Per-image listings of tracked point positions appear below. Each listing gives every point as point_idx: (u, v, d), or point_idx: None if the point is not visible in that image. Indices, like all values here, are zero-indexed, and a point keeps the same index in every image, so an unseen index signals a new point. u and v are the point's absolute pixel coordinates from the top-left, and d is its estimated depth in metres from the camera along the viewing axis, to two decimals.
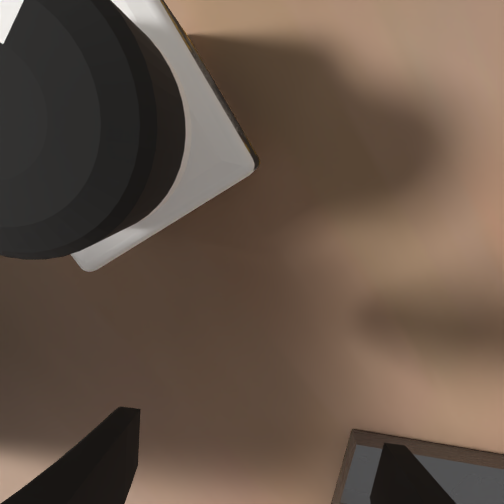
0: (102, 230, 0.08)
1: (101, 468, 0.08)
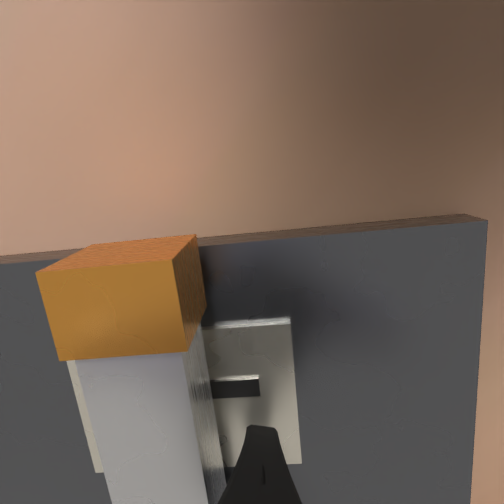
0: None
1: None
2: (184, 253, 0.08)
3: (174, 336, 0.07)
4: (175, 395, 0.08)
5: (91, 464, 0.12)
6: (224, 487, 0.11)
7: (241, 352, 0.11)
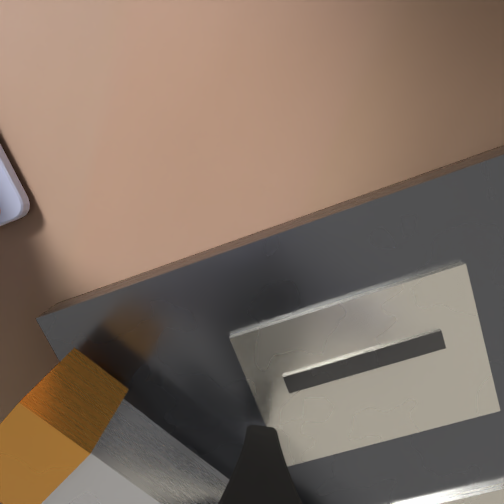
0: None
1: None
2: (49, 379, 0.09)
3: (71, 450, 0.08)
4: (120, 486, 0.09)
5: None
6: None
7: (418, 307, 0.10)
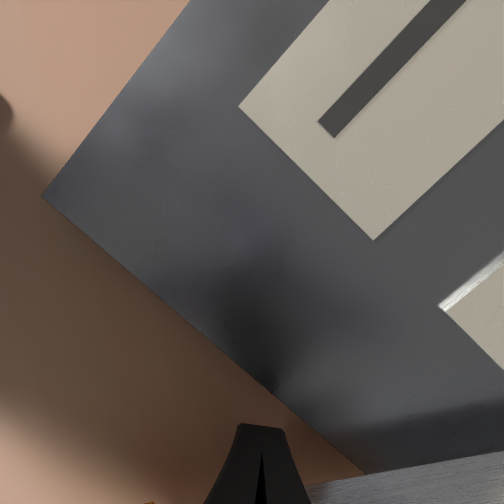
0: None
1: None
2: None
3: None
4: None
5: (361, 241, 0.10)
6: (331, 488, 0.11)
7: None
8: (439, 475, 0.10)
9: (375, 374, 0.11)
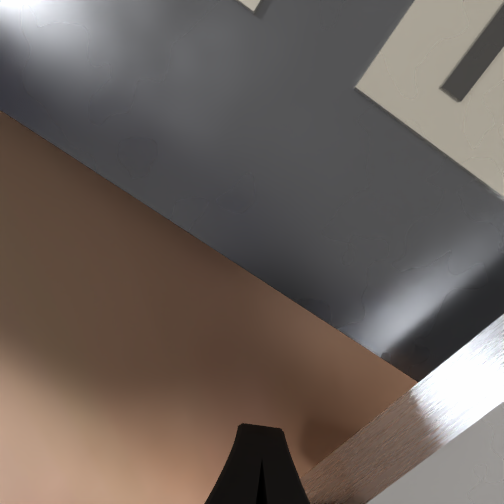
0: None
1: None
2: None
3: None
4: None
5: (244, 20, 0.09)
6: (346, 449, 0.10)
7: None
8: (432, 385, 0.09)
9: (297, 187, 0.10)
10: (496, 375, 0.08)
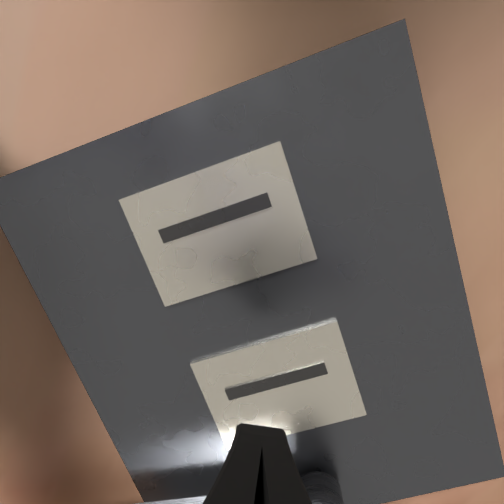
0: None
1: None
2: None
3: None
4: None
5: (160, 303, 0.16)
6: None
7: (250, 175, 0.14)
8: None
9: (139, 381, 0.17)
10: None
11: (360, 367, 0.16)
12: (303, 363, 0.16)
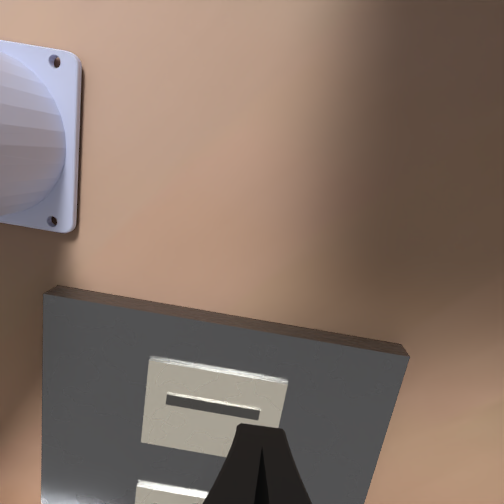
0: None
1: None
2: None
3: None
4: None
5: (138, 436, 0.19)
6: None
7: (254, 393, 0.18)
8: None
9: (89, 478, 0.20)
10: None
11: None
12: None
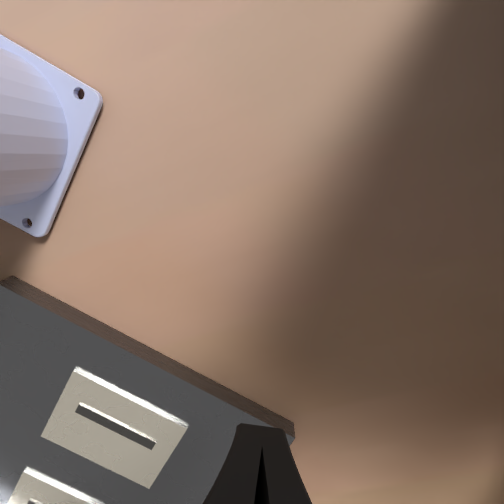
0: None
1: None
2: None
3: None
4: None
5: (40, 430, 0.21)
6: None
7: (156, 427, 0.20)
8: None
9: None
10: None
11: None
12: None
